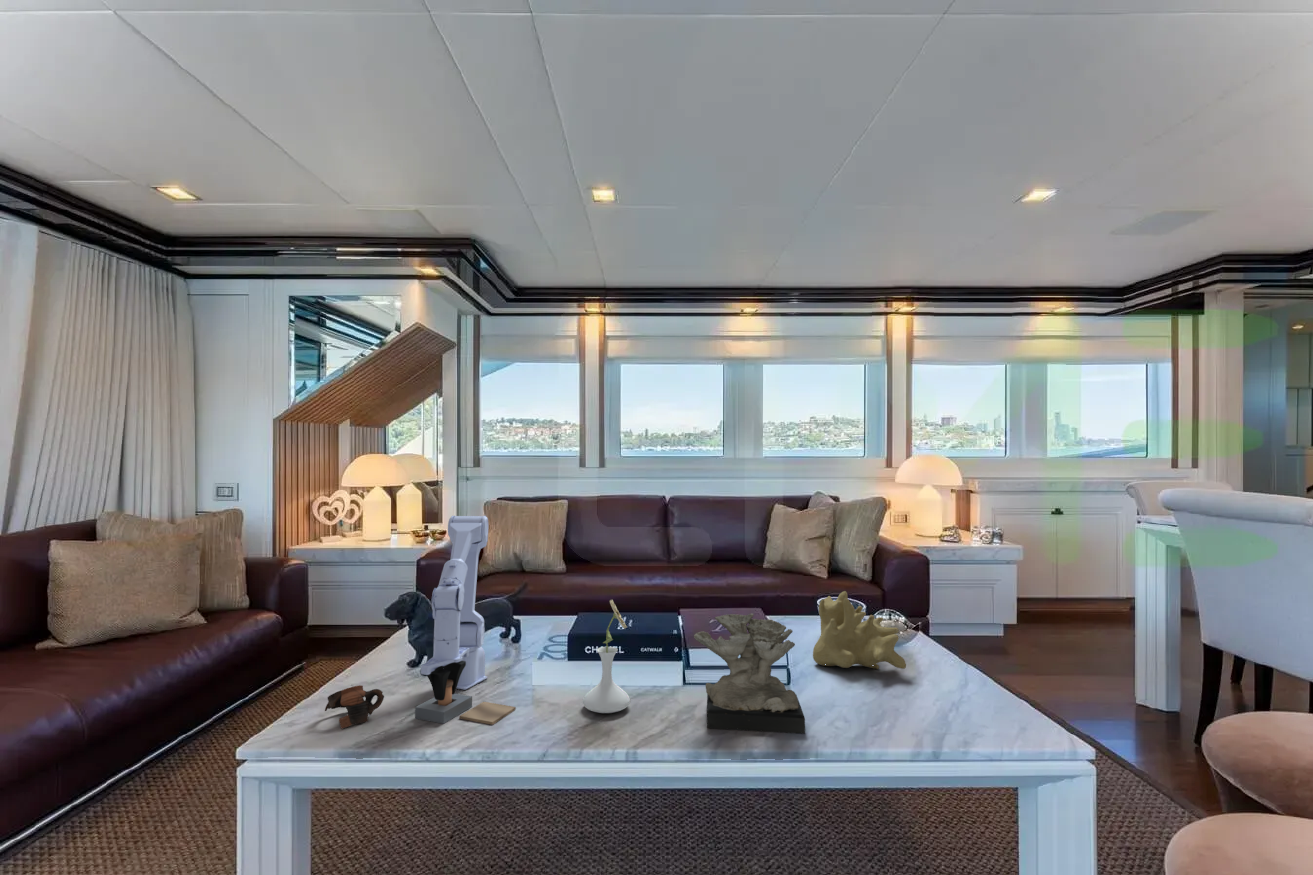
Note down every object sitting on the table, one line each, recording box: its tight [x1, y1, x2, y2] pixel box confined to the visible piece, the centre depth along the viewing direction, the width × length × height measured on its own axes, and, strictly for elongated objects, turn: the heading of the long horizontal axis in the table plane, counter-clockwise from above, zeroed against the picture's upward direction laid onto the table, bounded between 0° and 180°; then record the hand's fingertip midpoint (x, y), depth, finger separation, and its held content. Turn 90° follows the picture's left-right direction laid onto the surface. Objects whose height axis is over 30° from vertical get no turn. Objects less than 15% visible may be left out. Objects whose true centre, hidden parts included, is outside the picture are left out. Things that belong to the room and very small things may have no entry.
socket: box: [414, 693, 473, 724], centre depth 138 cm, size 10×8×2 cm
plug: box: [438, 679, 453, 706], centre depth 138 cm, size 3×3×7 cm
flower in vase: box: [582, 599, 631, 714], centre depth 143 cm, size 13×11×25 cm
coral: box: [693, 613, 806, 735], centre depth 141 cm, size 25×20×22 cm
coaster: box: [458, 701, 517, 725], centre depth 137 cm, size 9×9×1 cm
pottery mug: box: [324, 684, 385, 729], centre depth 135 cm, size 12×10×8 cm
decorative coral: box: [812, 590, 907, 670], centre depth 175 cm, size 26×22×25 cm
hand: (445, 696), depth 138 cm, fingers closed on plug, 3 cm apart
